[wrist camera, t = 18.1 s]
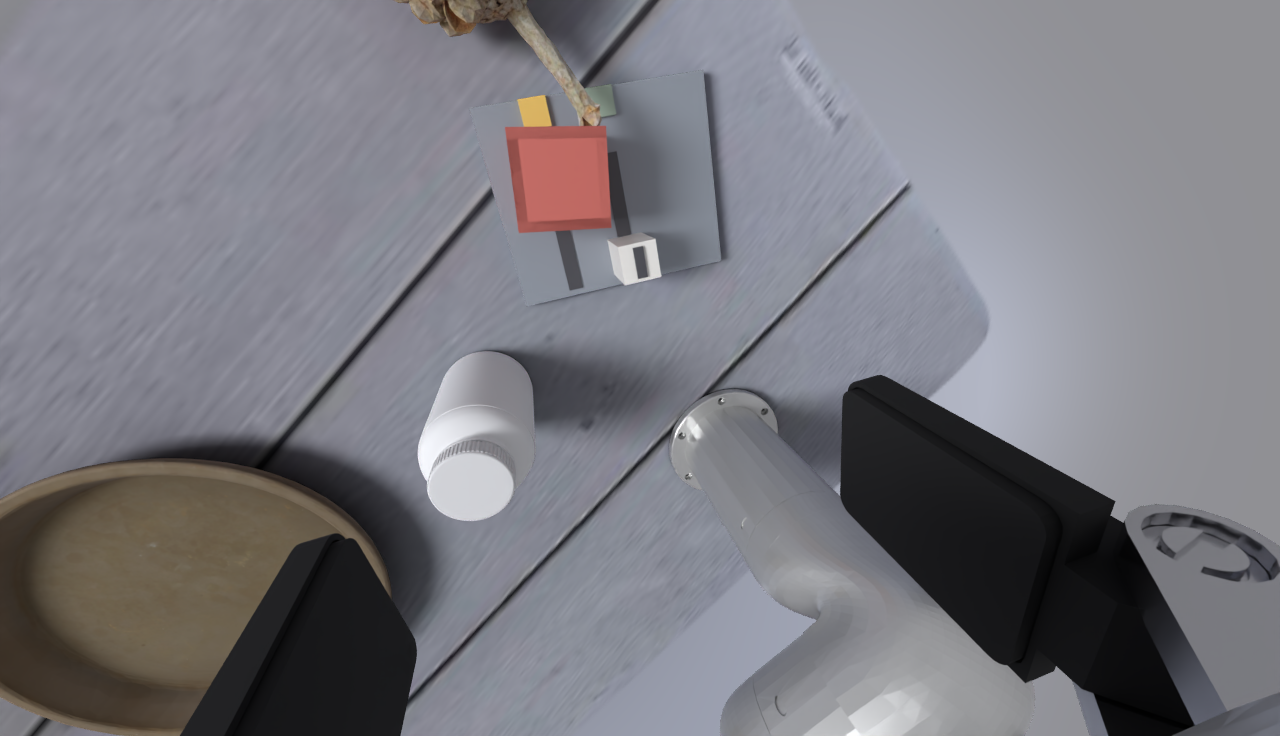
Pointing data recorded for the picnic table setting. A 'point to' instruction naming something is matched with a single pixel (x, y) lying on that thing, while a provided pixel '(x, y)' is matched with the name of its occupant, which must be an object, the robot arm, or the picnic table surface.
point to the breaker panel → (617, 187)
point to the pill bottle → (479, 436)
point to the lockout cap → (559, 177)
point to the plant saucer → (143, 584)
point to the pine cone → (467, 3)
